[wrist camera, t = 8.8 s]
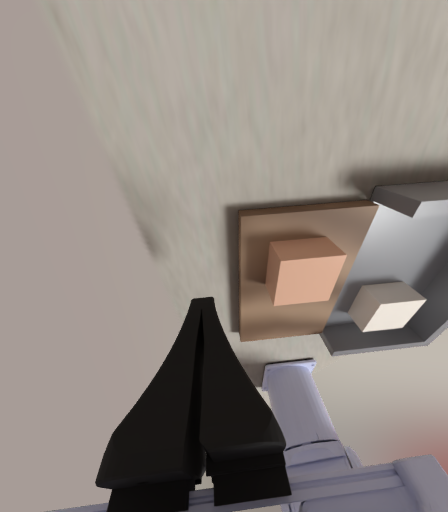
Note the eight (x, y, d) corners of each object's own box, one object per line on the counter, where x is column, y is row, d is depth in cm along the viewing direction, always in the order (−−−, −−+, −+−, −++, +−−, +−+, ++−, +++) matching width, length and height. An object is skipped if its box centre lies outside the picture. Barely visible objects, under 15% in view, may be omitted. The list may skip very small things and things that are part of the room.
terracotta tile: (313, 279, 17) (328, 300, 15) (265, 284, 17) (273, 306, 15) (326, 236, 14) (347, 255, 12) (269, 241, 14) (280, 261, 12)
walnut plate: (316, 324, 23) (321, 333, 22) (239, 332, 23) (240, 341, 22) (367, 200, 14) (379, 205, 13) (238, 210, 14) (241, 216, 13)
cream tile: (384, 309, 22) (402, 327, 20) (347, 312, 22) (362, 332, 20) (403, 281, 19) (426, 299, 17) (362, 285, 19) (381, 304, 17)
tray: (401, 319, 24) (427, 345, 21) (316, 329, 24) (331, 356, 21) (522, 174, 14) (604, 186, 11) (375, 186, 13) (421, 201, 11)
